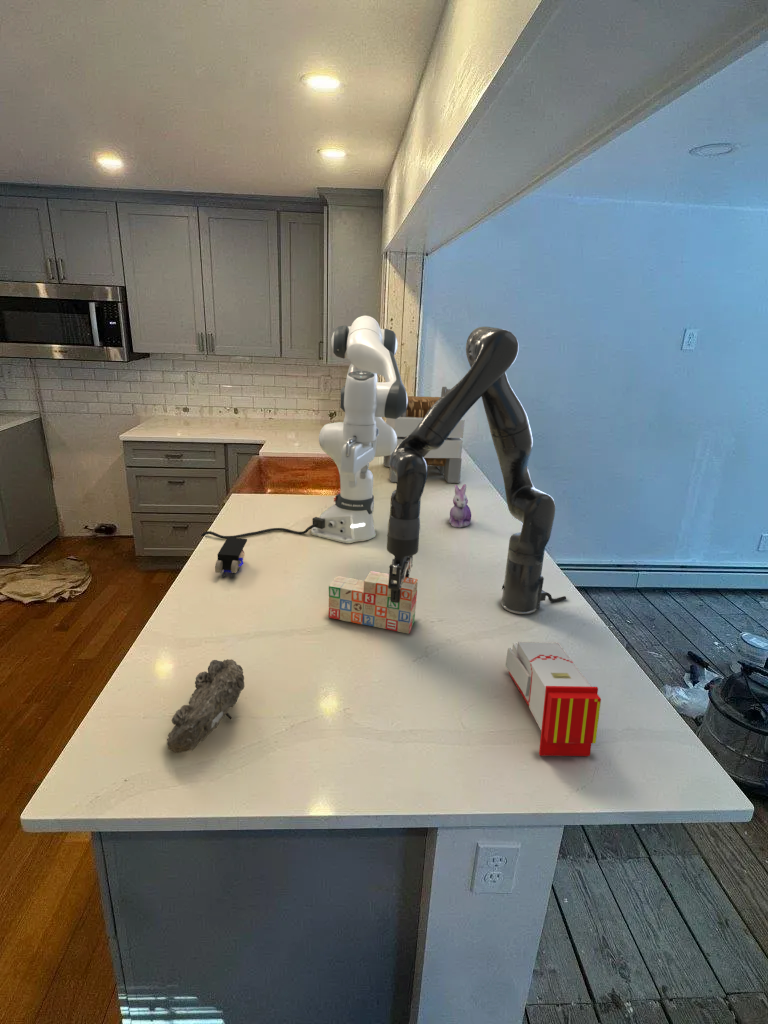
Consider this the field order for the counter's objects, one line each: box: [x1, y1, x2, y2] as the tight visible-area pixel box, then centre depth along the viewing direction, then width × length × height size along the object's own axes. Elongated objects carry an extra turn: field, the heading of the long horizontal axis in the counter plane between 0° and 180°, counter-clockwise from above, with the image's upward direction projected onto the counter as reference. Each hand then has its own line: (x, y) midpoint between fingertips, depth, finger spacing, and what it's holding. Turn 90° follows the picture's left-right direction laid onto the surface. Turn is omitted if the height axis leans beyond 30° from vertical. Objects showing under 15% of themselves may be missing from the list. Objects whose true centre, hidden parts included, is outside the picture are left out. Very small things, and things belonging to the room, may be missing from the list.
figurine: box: [448, 483, 472, 528], centre depth 209 cm, size 9×10×15 cm
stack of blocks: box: [328, 570, 419, 634], centre depth 142 cm, size 21×6×12 cm, turn 74°
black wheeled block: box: [214, 537, 248, 578], centre depth 166 cm, size 7×8×15 cm
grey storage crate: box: [383, 386, 465, 484], centre depth 268 cm, size 34×33×41 cm
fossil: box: [166, 658, 245, 754], centre depth 106 cm, size 22×10×15 cm
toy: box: [505, 641, 602, 757], centre depth 113 cm, size 12×13×30 cm
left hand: (358, 482), depth 158 cm, fingers open, 8 cm apart
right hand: (399, 593), depth 139 cm, fingers open, 8 cm apart
